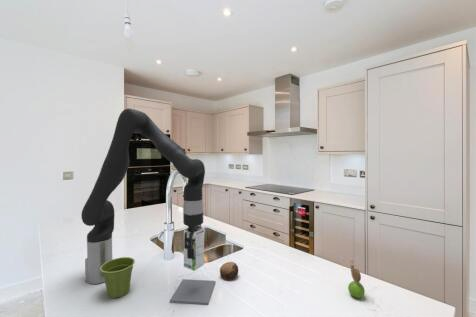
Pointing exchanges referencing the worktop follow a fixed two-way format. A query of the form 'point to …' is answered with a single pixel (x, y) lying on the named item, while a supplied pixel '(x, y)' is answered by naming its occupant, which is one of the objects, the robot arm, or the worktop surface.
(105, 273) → the plant pot
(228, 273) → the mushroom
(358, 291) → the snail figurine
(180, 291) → the slate pad
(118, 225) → the worktop surface
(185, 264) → the syrup box
